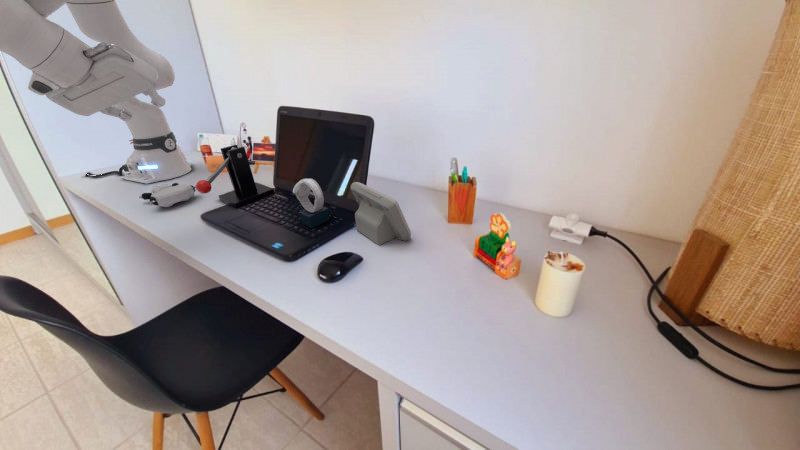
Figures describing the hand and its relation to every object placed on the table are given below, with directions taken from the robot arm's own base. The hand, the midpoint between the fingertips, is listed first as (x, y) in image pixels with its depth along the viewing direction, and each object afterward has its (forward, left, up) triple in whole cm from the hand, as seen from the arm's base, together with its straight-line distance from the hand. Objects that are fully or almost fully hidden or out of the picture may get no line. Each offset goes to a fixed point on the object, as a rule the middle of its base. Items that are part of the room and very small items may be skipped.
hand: (145, 111), depth 69 cm
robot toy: (-19, +12, -28) cm, 36 cm away
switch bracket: (+3, +18, -28) cm, 33 cm away
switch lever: (+1, +13, -20) cm, 24 cm away
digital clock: (+49, +5, -28) cm, 57 cm away
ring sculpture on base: (+31, +7, -28) cm, 42 cm away
